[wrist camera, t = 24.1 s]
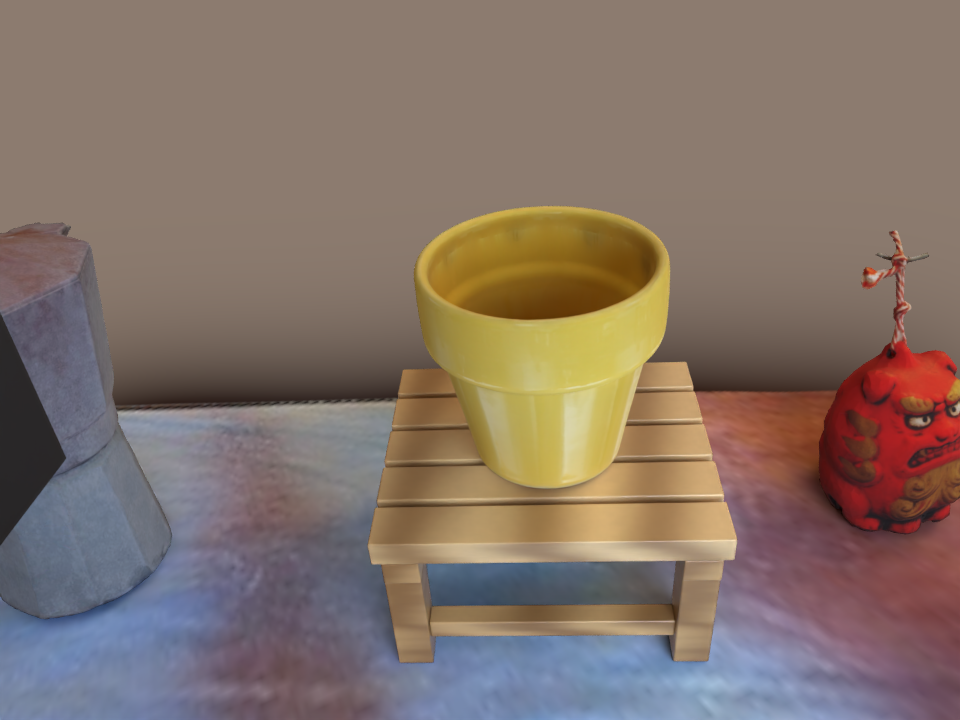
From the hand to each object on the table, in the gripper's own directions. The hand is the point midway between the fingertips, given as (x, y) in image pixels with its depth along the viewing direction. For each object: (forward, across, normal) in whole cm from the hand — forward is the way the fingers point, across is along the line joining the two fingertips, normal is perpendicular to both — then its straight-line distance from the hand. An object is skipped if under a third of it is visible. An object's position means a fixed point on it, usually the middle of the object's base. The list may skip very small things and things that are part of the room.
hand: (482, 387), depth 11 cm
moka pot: (+20, -25, -27) cm, 42 cm away
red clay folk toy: (+27, +18, -27) cm, 42 cm away
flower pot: (+21, 0, -19) cm, 28 cm away
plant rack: (+21, 0, -27) cm, 34 cm away
